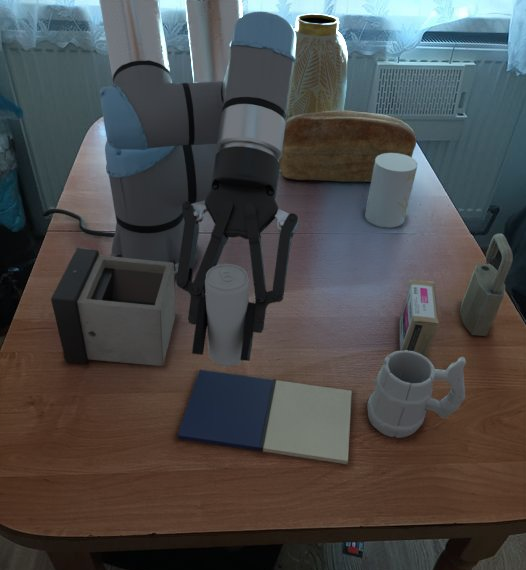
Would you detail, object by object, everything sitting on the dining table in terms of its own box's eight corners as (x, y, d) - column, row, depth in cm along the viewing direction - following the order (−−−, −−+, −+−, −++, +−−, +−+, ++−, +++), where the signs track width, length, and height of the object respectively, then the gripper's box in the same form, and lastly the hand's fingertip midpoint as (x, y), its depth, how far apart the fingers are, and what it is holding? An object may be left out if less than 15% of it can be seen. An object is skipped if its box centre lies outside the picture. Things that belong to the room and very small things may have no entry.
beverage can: (212, 372, 64) (209, 292, 56) (205, 345, 68) (200, 265, 59) (251, 365, 65) (254, 285, 57) (242, 339, 69) (243, 260, 60)
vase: (268, 125, 146) (273, 9, 127) (329, 123, 148) (343, 9, 130) (281, 152, 133) (288, 29, 115) (347, 149, 136) (365, 28, 117)
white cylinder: (403, 229, 109) (417, 173, 101) (363, 224, 110) (374, 168, 102) (404, 210, 115) (417, 155, 107) (366, 205, 116) (376, 150, 108)
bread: (411, 187, 123) (426, 128, 113) (276, 184, 122) (279, 123, 112) (401, 163, 131) (413, 106, 122) (274, 160, 130) (277, 102, 121)
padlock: (480, 304, 93) (511, 228, 82) (491, 336, 87) (526, 258, 76) (456, 303, 93) (485, 226, 82) (466, 334, 87) (498, 256, 76)
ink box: (398, 319, 89) (410, 277, 83) (422, 322, 89) (435, 281, 83) (399, 362, 82) (411, 320, 76) (424, 365, 81) (439, 323, 76)
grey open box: (163, 372, 79) (159, 308, 71) (65, 363, 79) (50, 298, 70) (175, 318, 88) (174, 256, 80) (87, 310, 88) (76, 246, 79)
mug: (363, 393, 77) (379, 331, 68) (447, 401, 76) (473, 339, 68) (366, 437, 71) (383, 374, 63) (456, 445, 71) (486, 383, 62)
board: (177, 438, 70) (177, 434, 69) (199, 373, 79) (199, 368, 78) (347, 464, 68) (348, 460, 67) (350, 394, 77) (351, 390, 76)
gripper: (324, 176, 65) (299, 367, 65) (180, 161, 67) (154, 348, 66) (326, 151, 58) (298, 367, 57) (164, 135, 59) (135, 345, 59)
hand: (221, 356), depth 62 cm, fingers closed on beverage can, 5 cm apart
